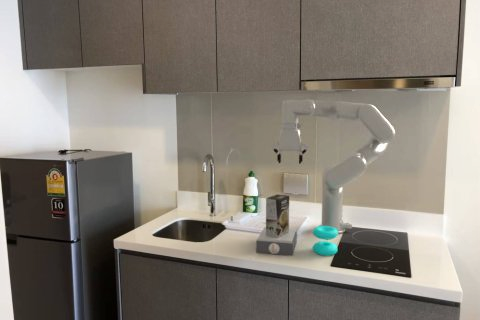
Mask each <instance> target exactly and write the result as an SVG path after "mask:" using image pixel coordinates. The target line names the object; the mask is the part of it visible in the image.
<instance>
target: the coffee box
mask: <svg viewBox="0 0 480 320" xmlns="http://www.w3.org/2000/svg"><path fill="white" fill-rule="evenodd" d="M265 228H266V235H268V236H272V237H276V238H279V237H281V236H283V235H284V234H286V233H288V232H289V229H290V195H285V194H278V193H277V194H274V195H272V196H268V197H266V198H265Z"/></svg>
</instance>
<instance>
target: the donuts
mask: <svg viewBox="0 0 480 320" xmlns="http://www.w3.org/2000/svg"><path fill="white" fill-rule="evenodd" d="M312 234H313V235H314V236H315V238H318V239H320V241H318V242H315V243H314V244H313V245H312V250H313V252H314V253H315V254H316V255H320V256H324V257H325V256H326V257H327V256H333V255H335V254H337V253H338V251H339V250H338V246H337V245H336V244H335V243H333V242H331V241H330V240H333V239H335V238H337V237H338V235H339V234H338V231H337V229H335V228H334V227H331V226H319V225H318V226H316V227H314V228H313V230H312ZM326 240H329V241H326Z"/></svg>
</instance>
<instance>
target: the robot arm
mask: <svg viewBox="0 0 480 320" xmlns="http://www.w3.org/2000/svg"><path fill="white" fill-rule="evenodd" d="M281 104H282V106H281V107H282V108H281V109H282V110H281V111H282V114H281V129H280V132H279V138H278V139H279V140H278V142H276V143H274V144H272V145H271V148H272V150H273V152H274V153H276V155H277V157H276V159H277V162H278V164H281V162H282V154H281V153H282V152H297V153H298V154H299V155H298V163H299V164H302V162H303V160H304V159H303V158H304V157H303V155H304V154H305V153H306V152H307V150H308V149H309V147H310V146H309V145H308V144H306V143H304V142H303V141H302V133H301V129H299V128H302V124H301V123H300V122H299V116H303V117H312V116H313V117H314V116H315V117H323V118H326V119H327V118H328V119H331V120H336V121H344V122H355V123H362V124H363V125H364V126H365V128H366V129H367V130H368V132H370V134H371V135H370V136H371V137H370V139H369V140H368V141H367V142H366V143H365V144H363V145H362V146H360V147H358V148H357V149H356V150H354V151H351V152H350V153H348V154H347V155H345V156H344V158H343V160H342V161H341V162H340V163H339V164H333V163H331V164H328V165H326V166H325V167H324V169H323V171H322V175H321V183H322V184H321V185H322V186H321V189H322V191H321V224H319V225H318V226H331V227H334V228H335V229H337V231H338V235H339V234H343V233H345V231H346V229H353V224H351V223H350V222H344V220H343V202H344V187H345V186H346V185H349V184H350V183H351V182H353V181H355V180H357V179H359V178H360V177H361V176H363V175H364V174H365V173H366V171H367V169H368V166H369V165H370V164H371V163H373V162H375V161H376V160H378V159H379V158H380V157H382V155H383V154H385V152H386V150H387V148H388V145H389V143H390V142H392V141H393V140H394V138H395V136H396V131H395V129H394V127H393V126H392V125H391V123H390V122H389V121H388V119H386V117H385V116H384V115H383V114H382V113H381V112H380V111H379V110H378V108H377V107H376V106H374V105H373V104H371V103H361V102H351V101H350V102H349V101H339V100H333V101H332V100H331V101H330V100H329V101H328V100H316V99H302V100H296V99H286V100H283V101H282V103H281ZM277 146H278V149H279V150H278V149H277ZM302 147H304V149H303V150H302Z"/></svg>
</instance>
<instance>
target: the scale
mask: <svg viewBox="0 0 480 320" xmlns="http://www.w3.org/2000/svg"><path fill="white" fill-rule="evenodd" d="M297 233H298V232H297V230H296V229H291V228H289V232H288V233H286V234H284V235H283V236H281V237H279V238H276V237H272V236H268V235H266V226H265V227H263V228H262V230H261V232H260V234H259V236H257V239H256V241H255V242H256V243H255V253H256V254H257V253H258V254H267V255H269V254H271V255H278V254H279V256H291V257H292V256H293V255H294V253H295V250H296V245H297V241H298V238H297V237H298V234H297Z"/></svg>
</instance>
